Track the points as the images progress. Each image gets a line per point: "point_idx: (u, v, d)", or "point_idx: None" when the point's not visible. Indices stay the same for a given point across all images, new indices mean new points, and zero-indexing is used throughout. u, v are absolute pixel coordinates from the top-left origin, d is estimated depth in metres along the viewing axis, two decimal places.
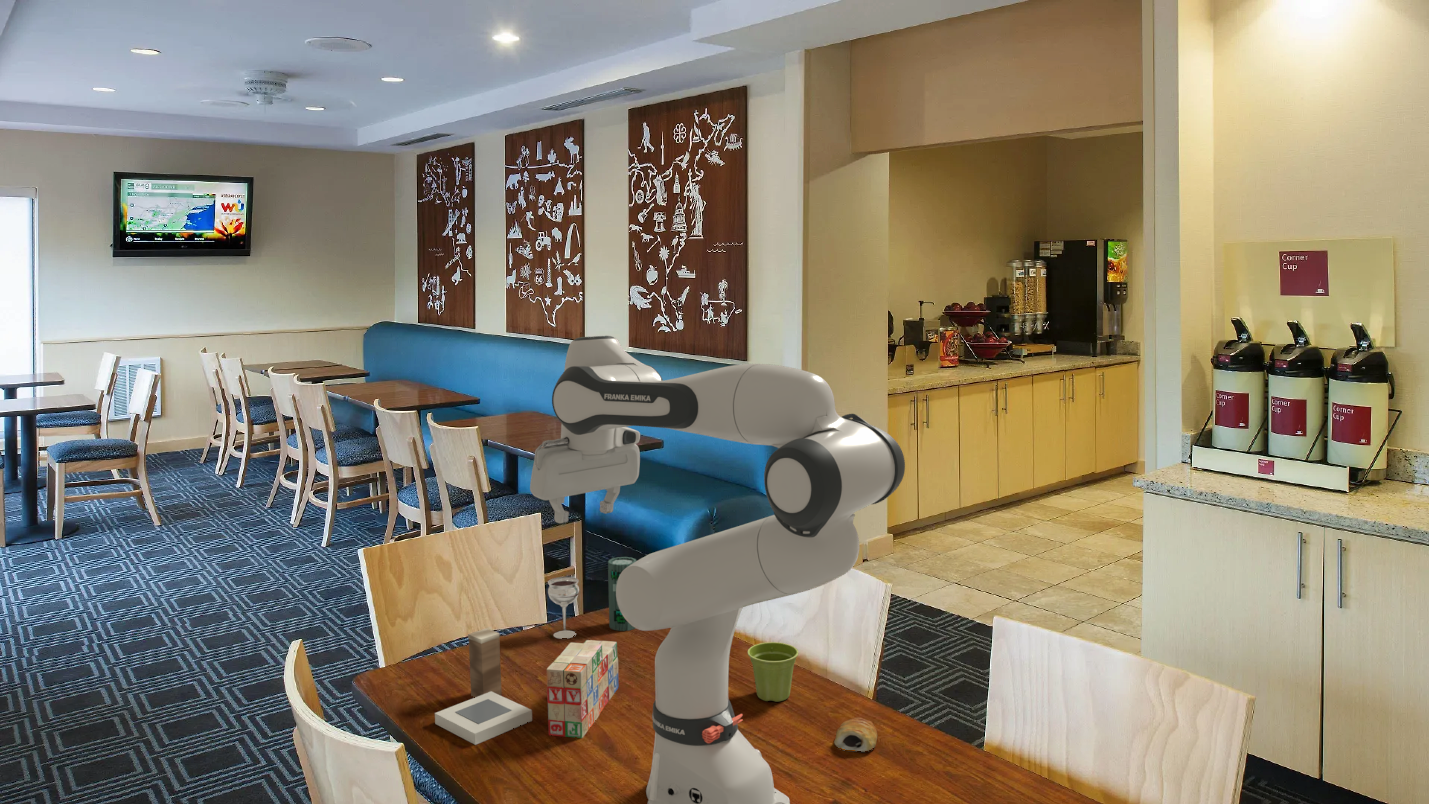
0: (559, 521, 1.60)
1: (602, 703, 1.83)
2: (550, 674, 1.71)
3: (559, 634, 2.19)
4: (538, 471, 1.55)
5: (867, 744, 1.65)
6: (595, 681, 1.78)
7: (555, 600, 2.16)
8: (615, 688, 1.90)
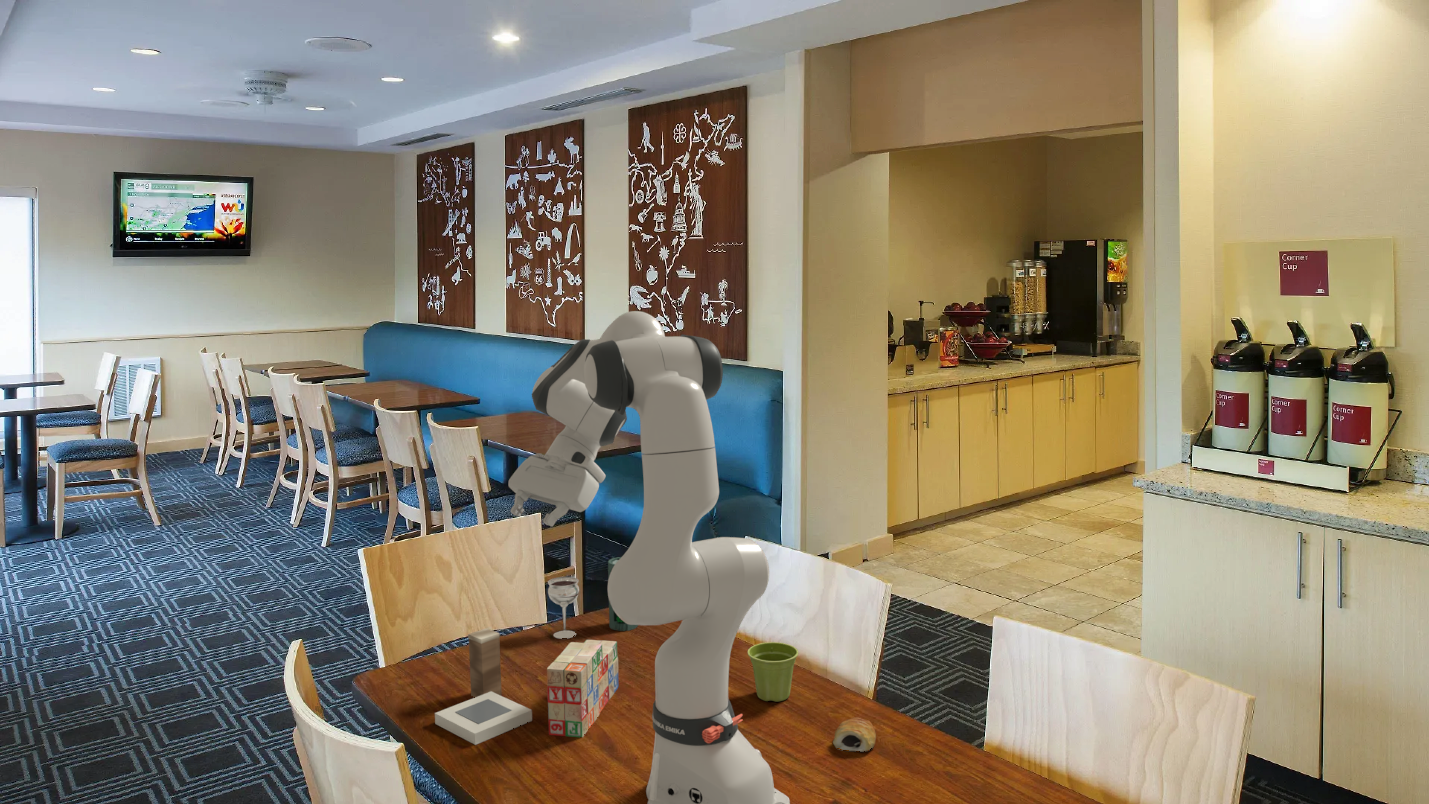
0: None
1: (602, 703, 1.83)
2: (550, 674, 1.71)
3: (559, 634, 2.19)
4: None
5: (866, 744, 1.65)
6: (595, 681, 1.78)
7: (555, 600, 2.16)
8: (615, 688, 1.91)
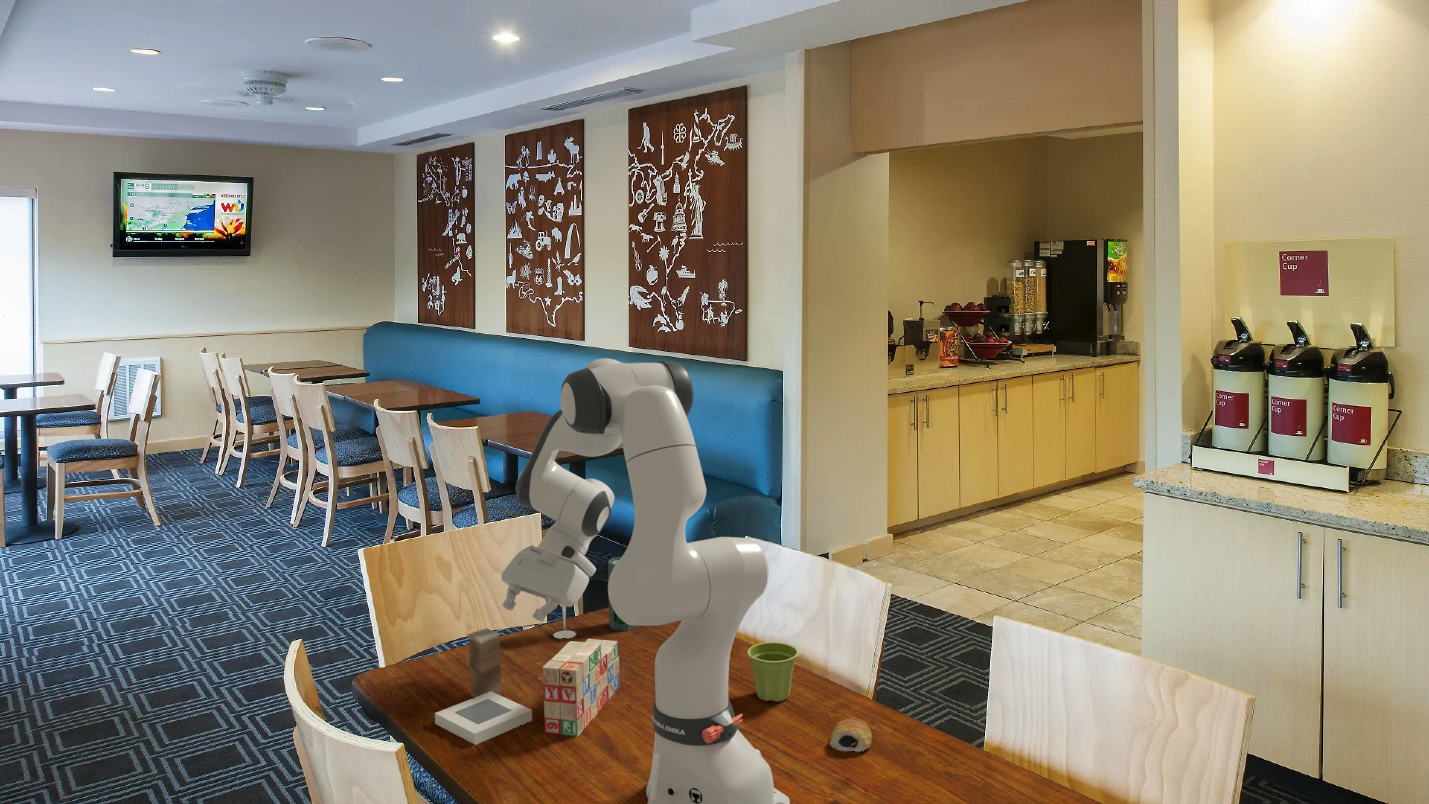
0: None
1: (600, 702, 1.83)
2: (546, 672, 1.72)
3: (559, 634, 2.19)
4: None
5: (863, 744, 1.65)
6: (592, 680, 1.78)
7: None
8: (615, 687, 1.91)
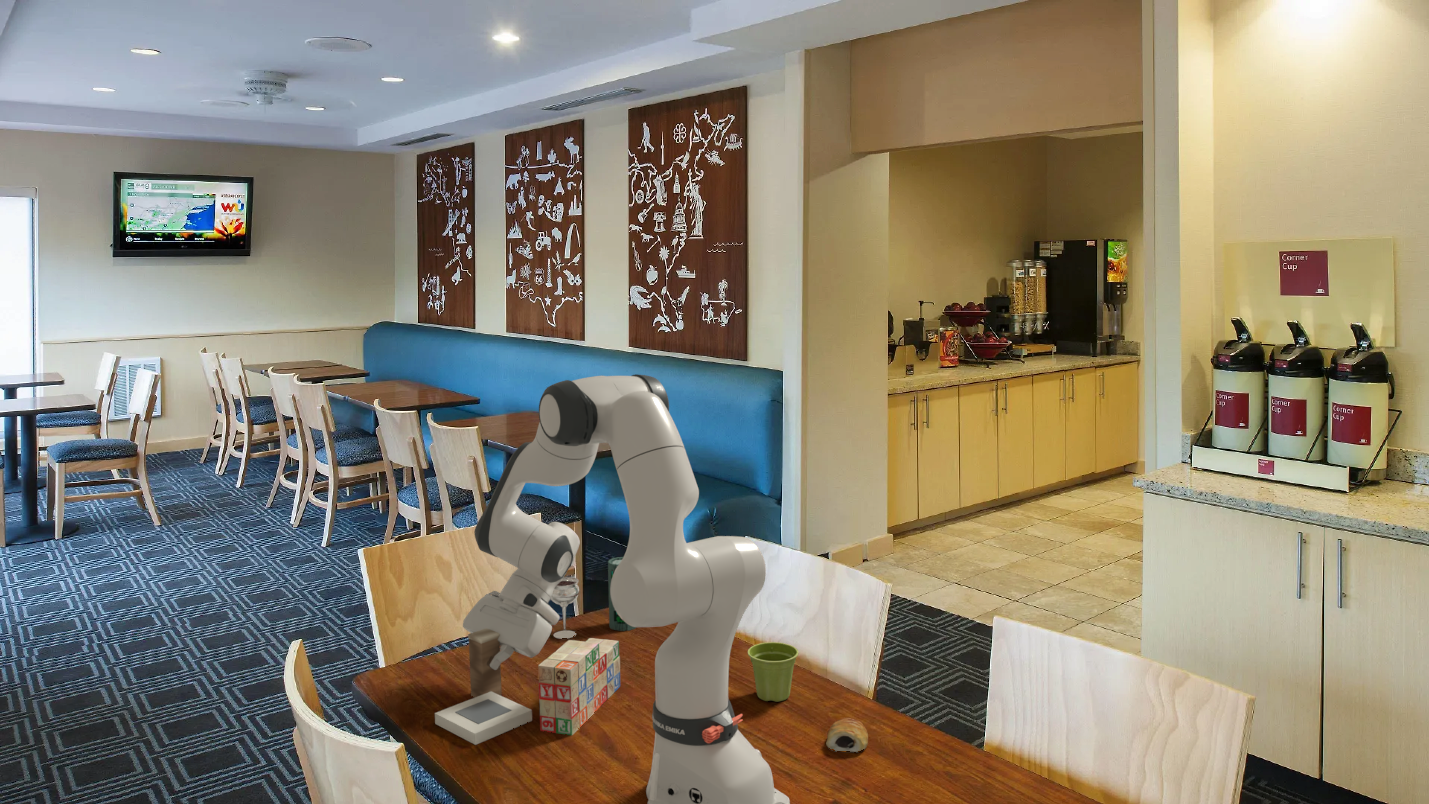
0: None
1: (599, 701, 1.83)
2: (541, 670, 1.73)
3: (559, 634, 2.19)
4: None
5: (860, 745, 1.65)
6: (589, 680, 1.79)
7: (555, 600, 2.16)
8: (616, 687, 1.91)
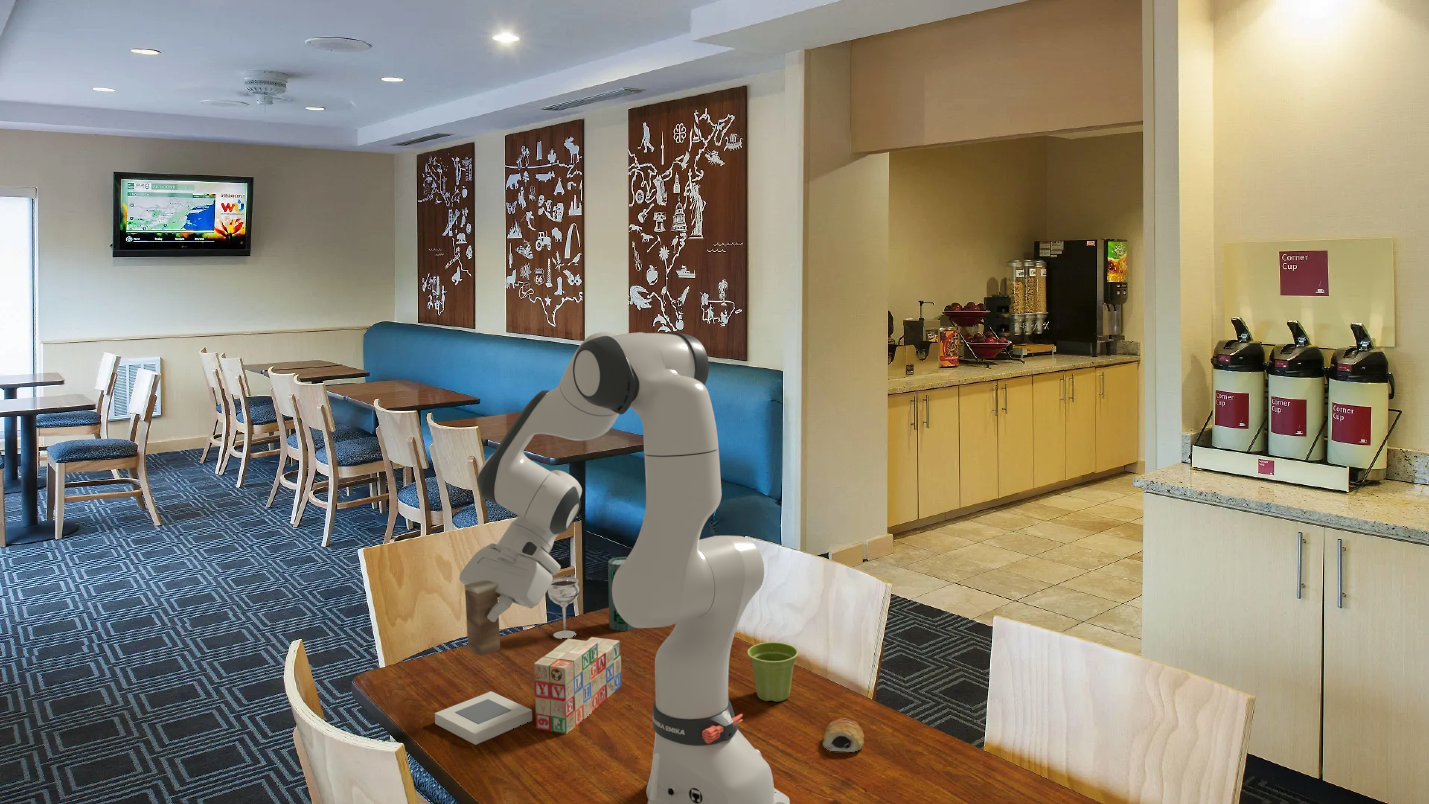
0: None
1: (597, 701, 1.84)
2: (537, 668, 1.74)
3: (559, 634, 2.19)
4: None
5: (856, 744, 1.65)
6: (586, 679, 1.79)
7: (555, 600, 2.16)
8: (616, 687, 1.91)
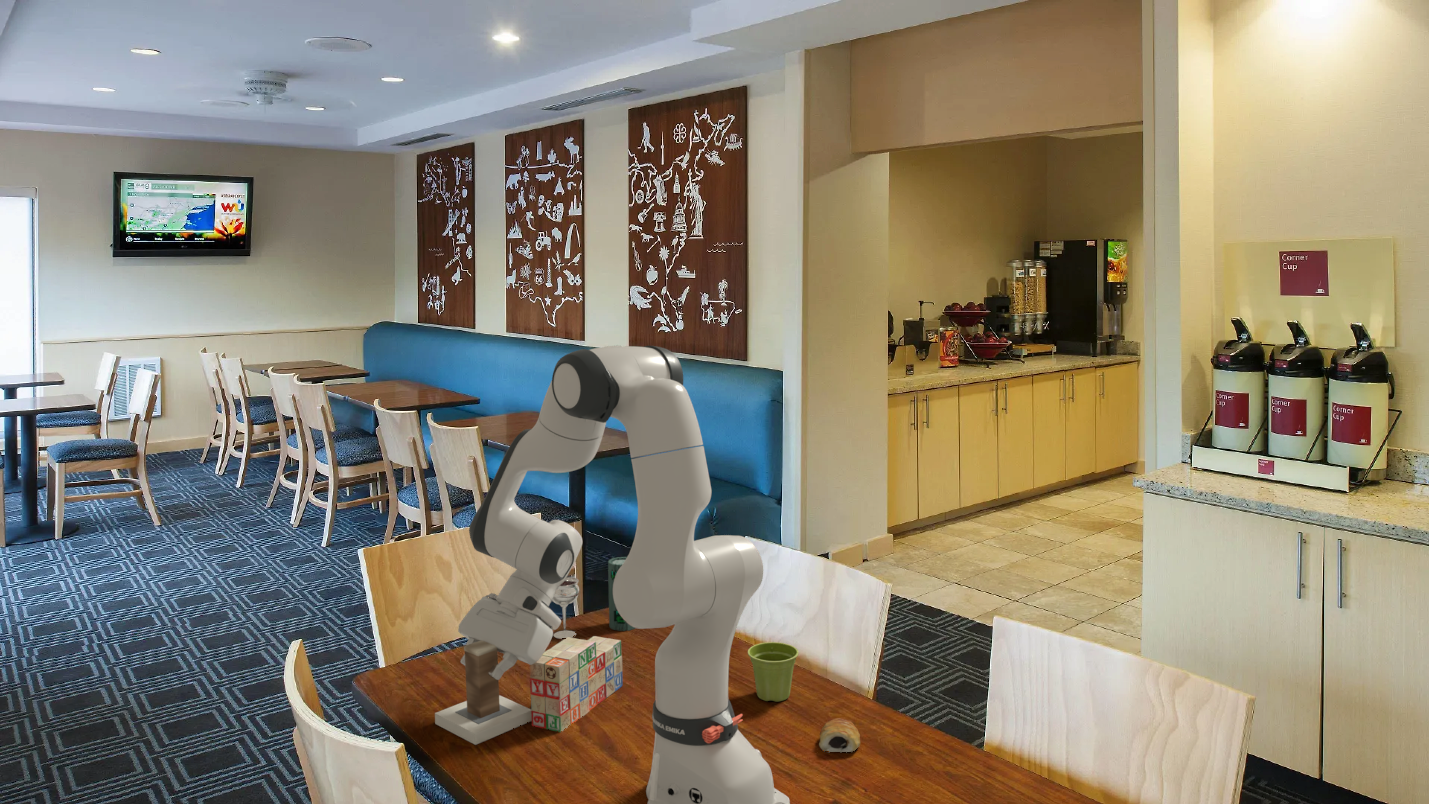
0: None
1: (595, 700, 1.84)
2: (532, 666, 1.75)
3: (559, 634, 2.19)
4: None
5: (853, 745, 1.65)
6: (582, 678, 1.79)
7: (555, 600, 2.16)
8: (617, 686, 1.91)
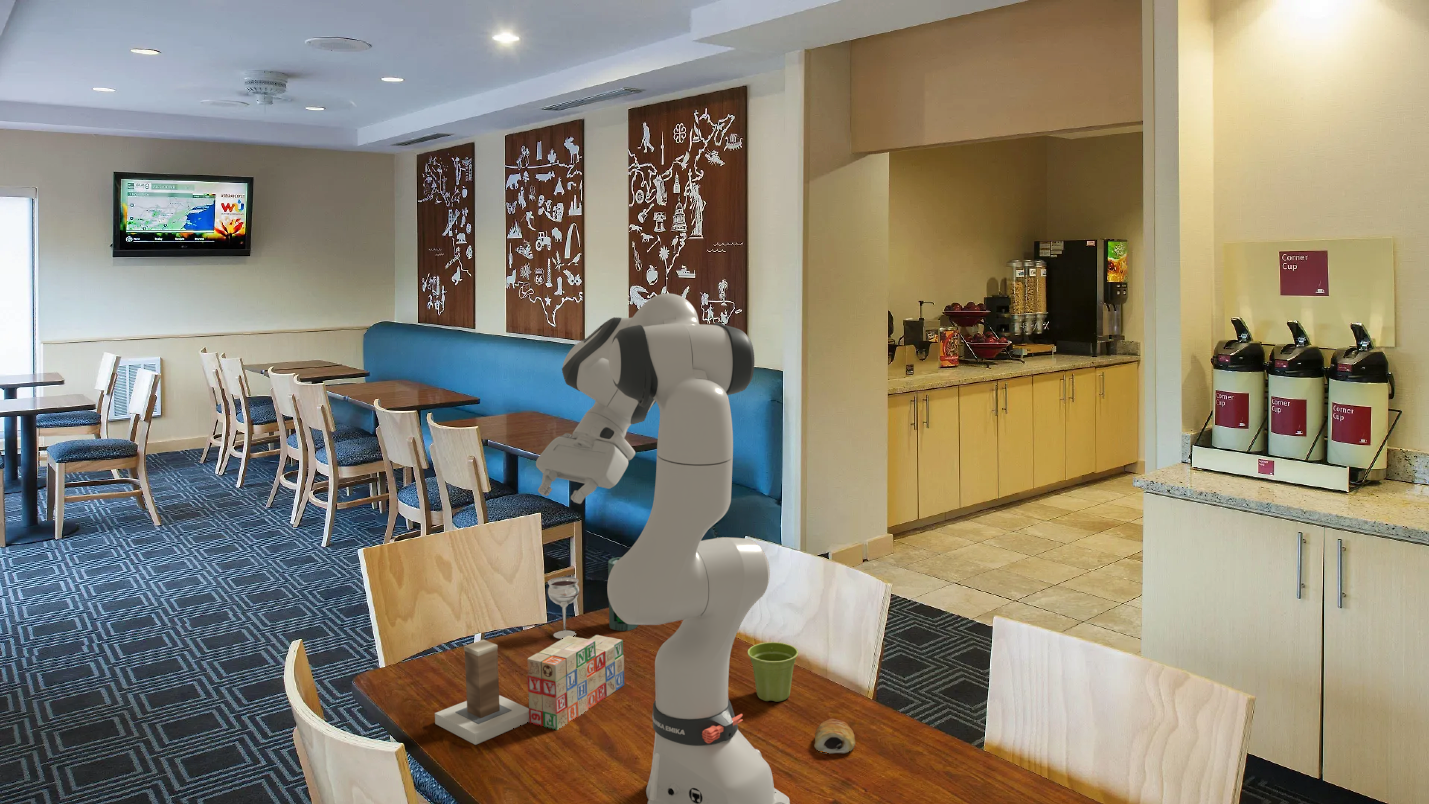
0: None
1: (594, 699, 1.85)
2: (530, 664, 1.76)
3: (559, 634, 2.19)
4: None
5: (849, 745, 1.65)
6: (581, 676, 1.80)
7: (555, 600, 2.16)
8: (618, 686, 1.92)
